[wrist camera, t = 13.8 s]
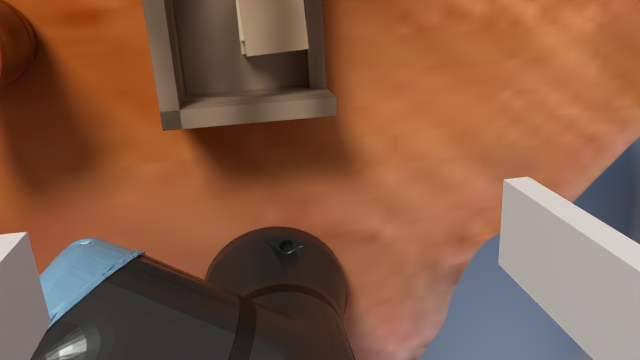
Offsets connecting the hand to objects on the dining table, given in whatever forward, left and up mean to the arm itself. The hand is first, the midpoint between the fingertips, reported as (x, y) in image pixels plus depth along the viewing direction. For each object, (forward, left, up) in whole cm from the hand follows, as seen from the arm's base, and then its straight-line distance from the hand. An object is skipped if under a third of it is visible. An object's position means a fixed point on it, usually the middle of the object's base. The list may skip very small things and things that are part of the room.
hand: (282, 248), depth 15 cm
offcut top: (+6, +5, -31) cm, 32 cm away
